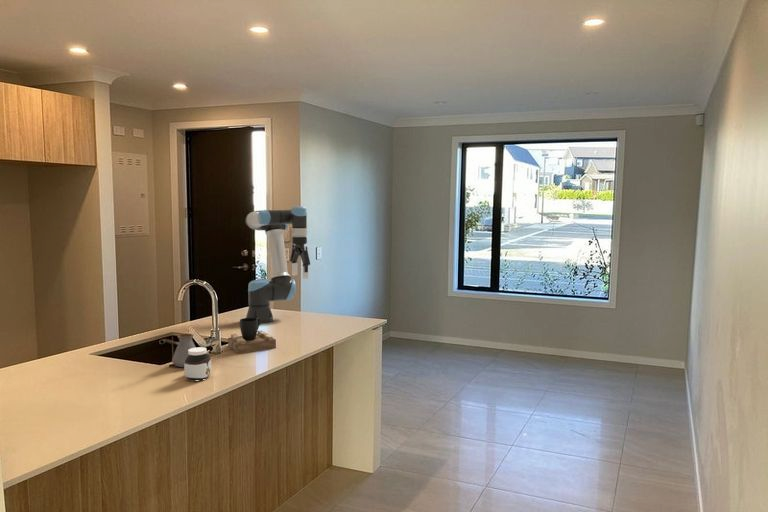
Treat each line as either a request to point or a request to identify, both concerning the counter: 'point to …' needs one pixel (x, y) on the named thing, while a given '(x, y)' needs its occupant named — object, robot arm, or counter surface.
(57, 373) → the counter surface
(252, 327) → the mug
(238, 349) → the brown piece
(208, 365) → the spread jar
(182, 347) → the coffee pot
